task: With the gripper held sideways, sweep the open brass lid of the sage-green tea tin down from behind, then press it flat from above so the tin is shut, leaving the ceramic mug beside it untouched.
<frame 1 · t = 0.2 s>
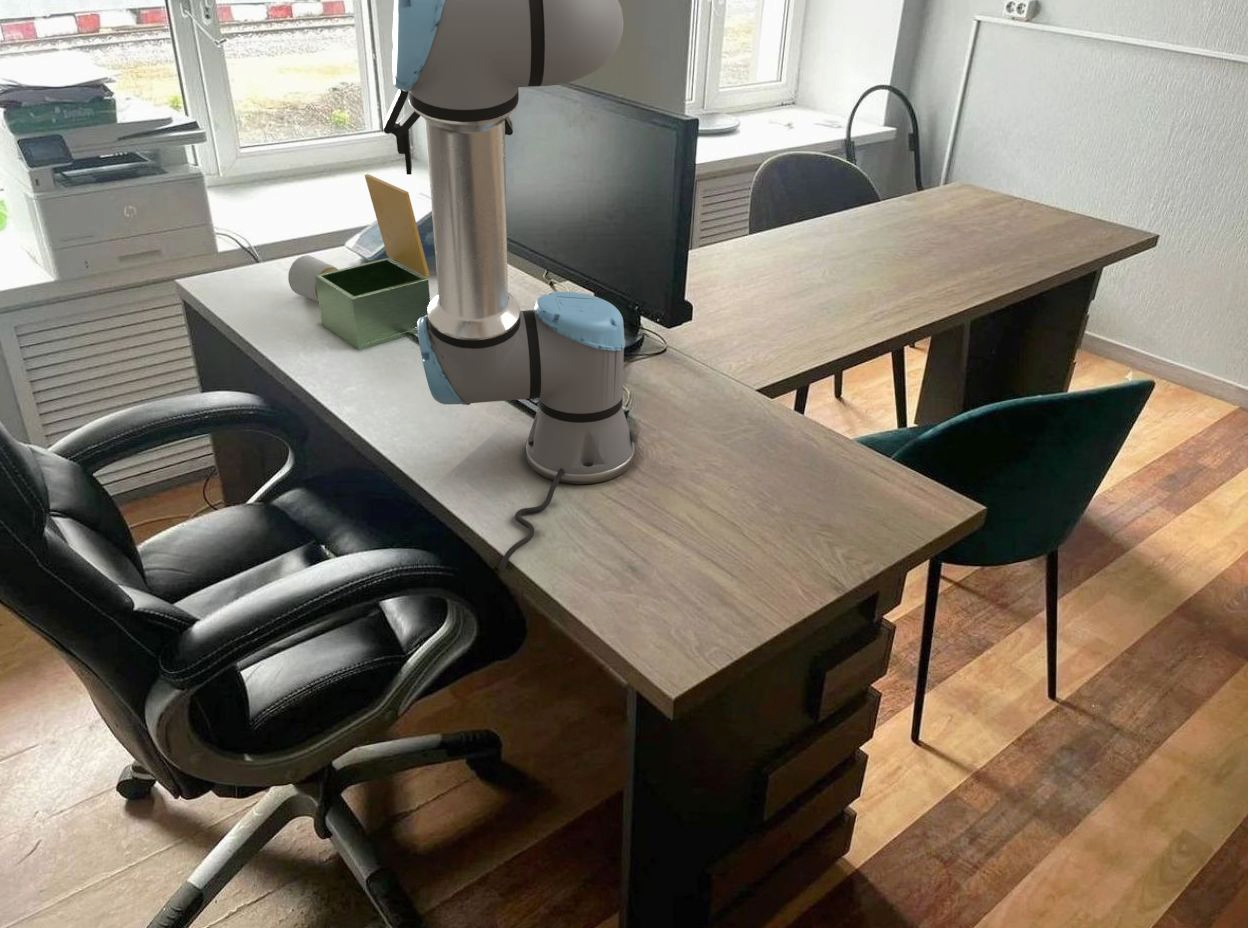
hand: (451, 170, 166), 28 cm above the table, tool tilted 20°, fingers open, 13 cm apart
lid: (397, 225, 173), point 17 cm above the table, hinge at 80.0°
tea tin: (377, 326, 179), on the table
ceramic mug: (325, 297, 190), on the table
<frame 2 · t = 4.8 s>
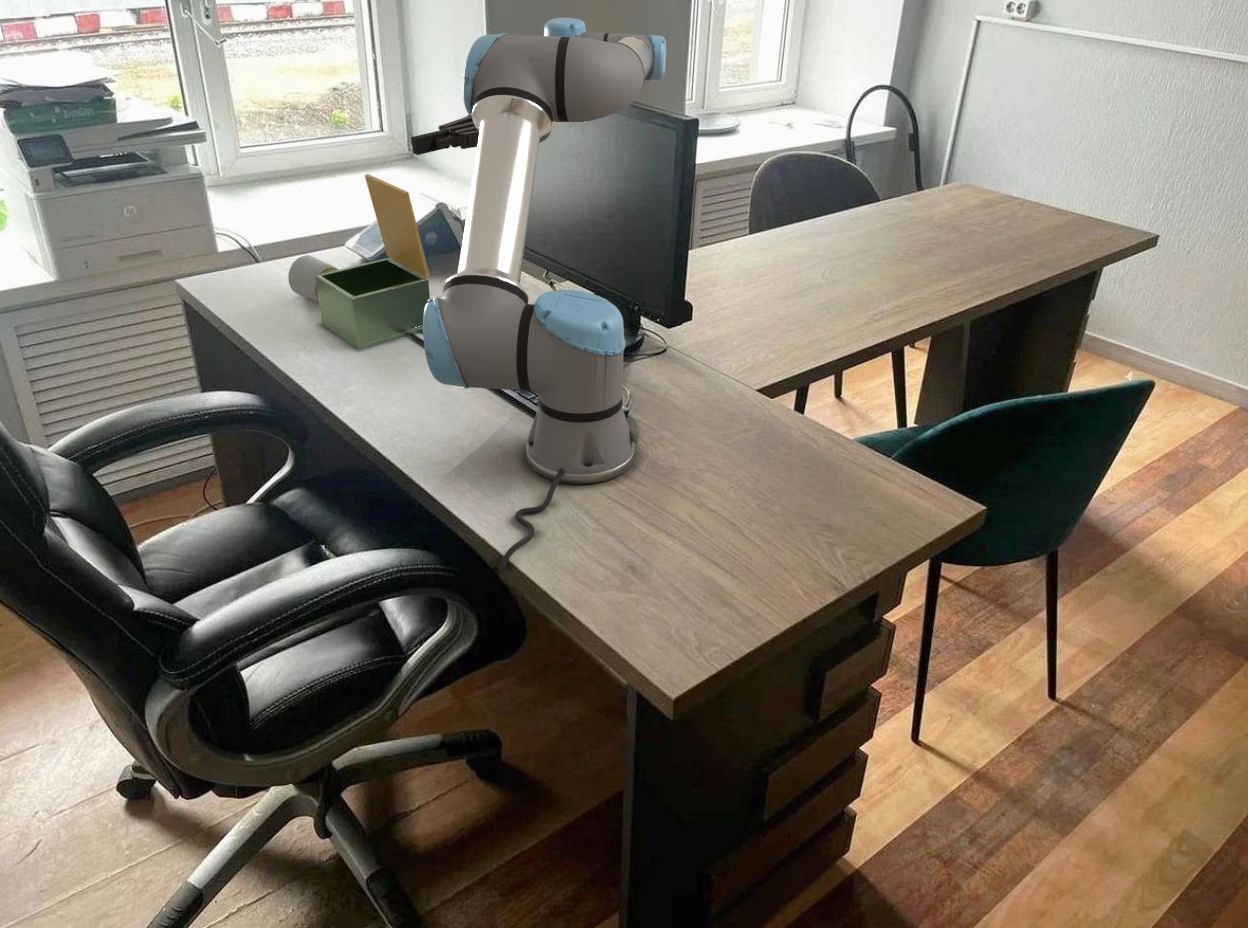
hand: (414, 146, 168), 30 cm above the table, tool horizontal, fingers closed
nothing on the table moved.
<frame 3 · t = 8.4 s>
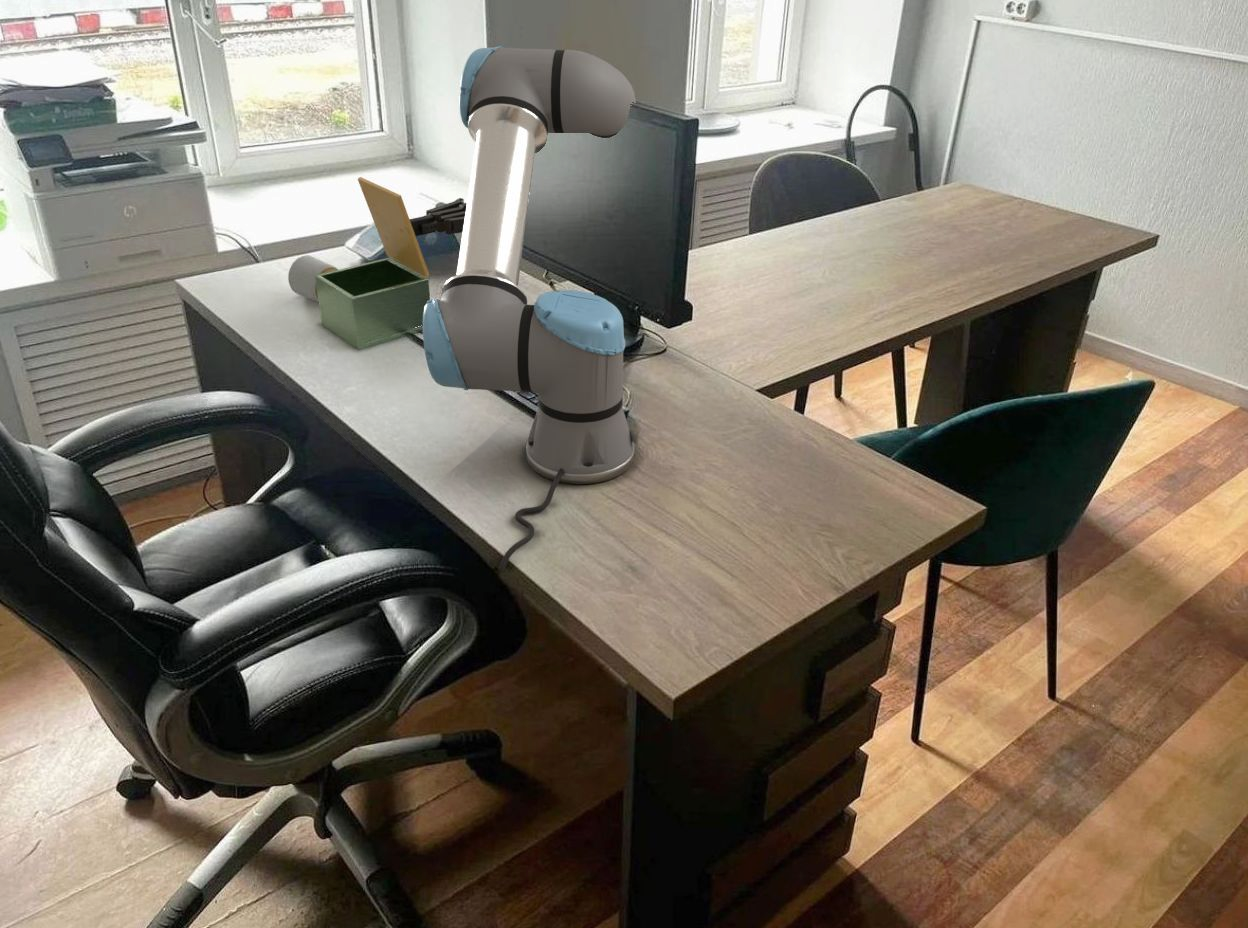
hand: (400, 230, 174), 16 cm above the table, tool horizontal, fingers closed
lid: (393, 227, 173), point 17 cm above the table, hinge at 74.5°
everything else where it was.
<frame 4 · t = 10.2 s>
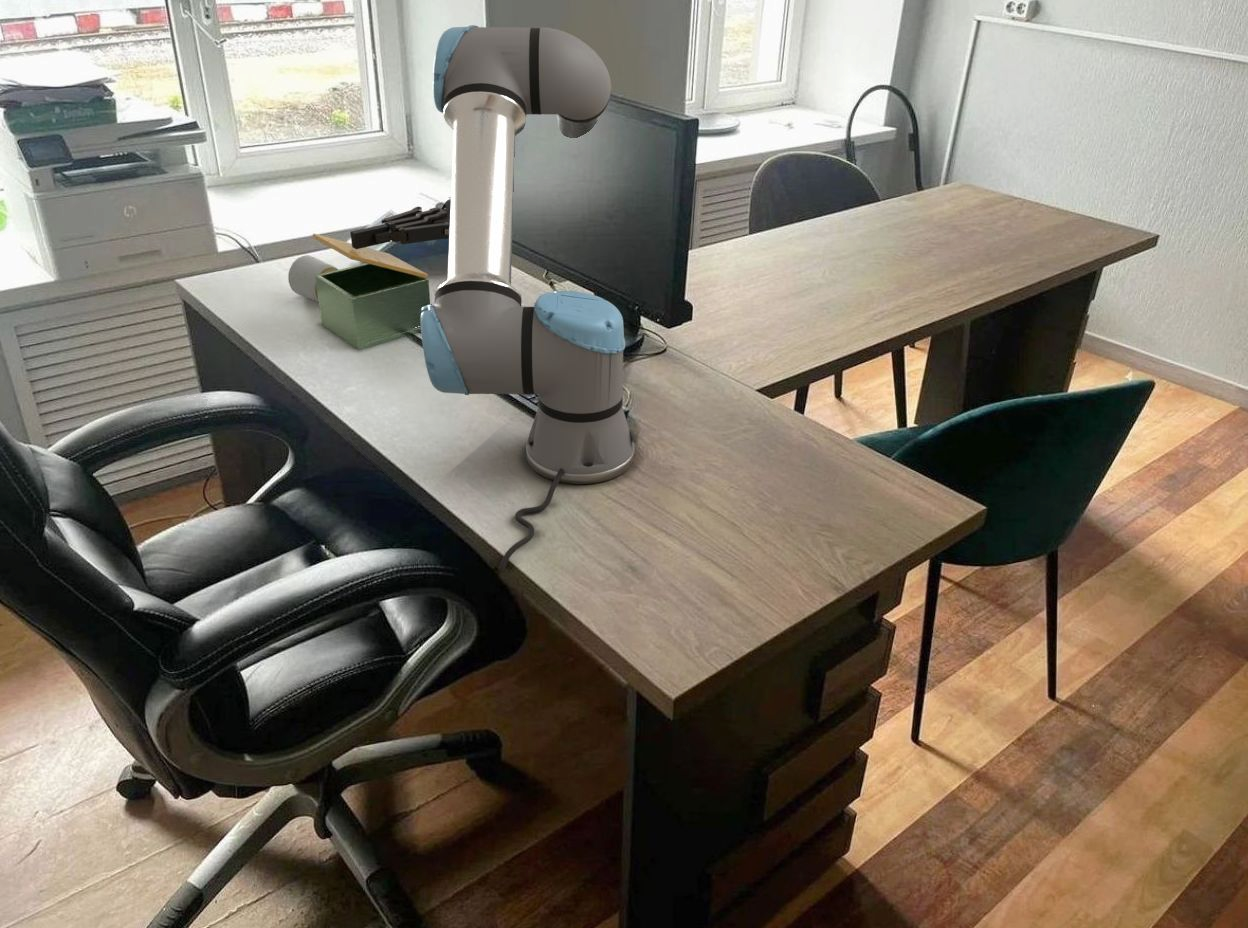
hand: (353, 240, 169), 16 cm above the table, tool horizontal, fingers closed
lid: (370, 256, 172), point 13 cm above the table, hinge at 25.5°
everything else where it was.
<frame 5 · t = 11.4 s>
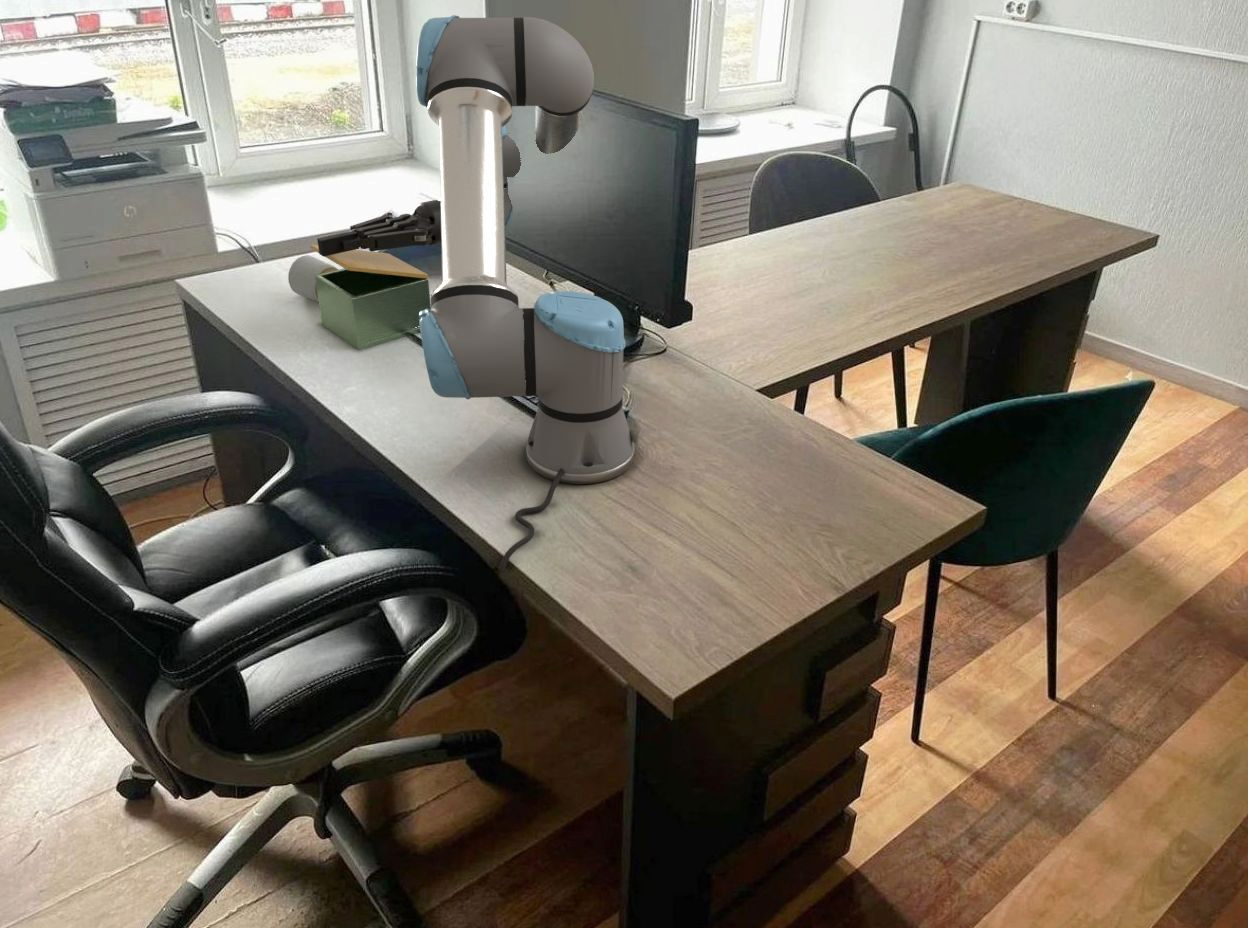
hand: (320, 247, 166), 16 cm above the table, tool horizontal, fingers closed
lid: (369, 261, 173), point 12 cm above the table, hinge at 18.4°
everything else where it was.
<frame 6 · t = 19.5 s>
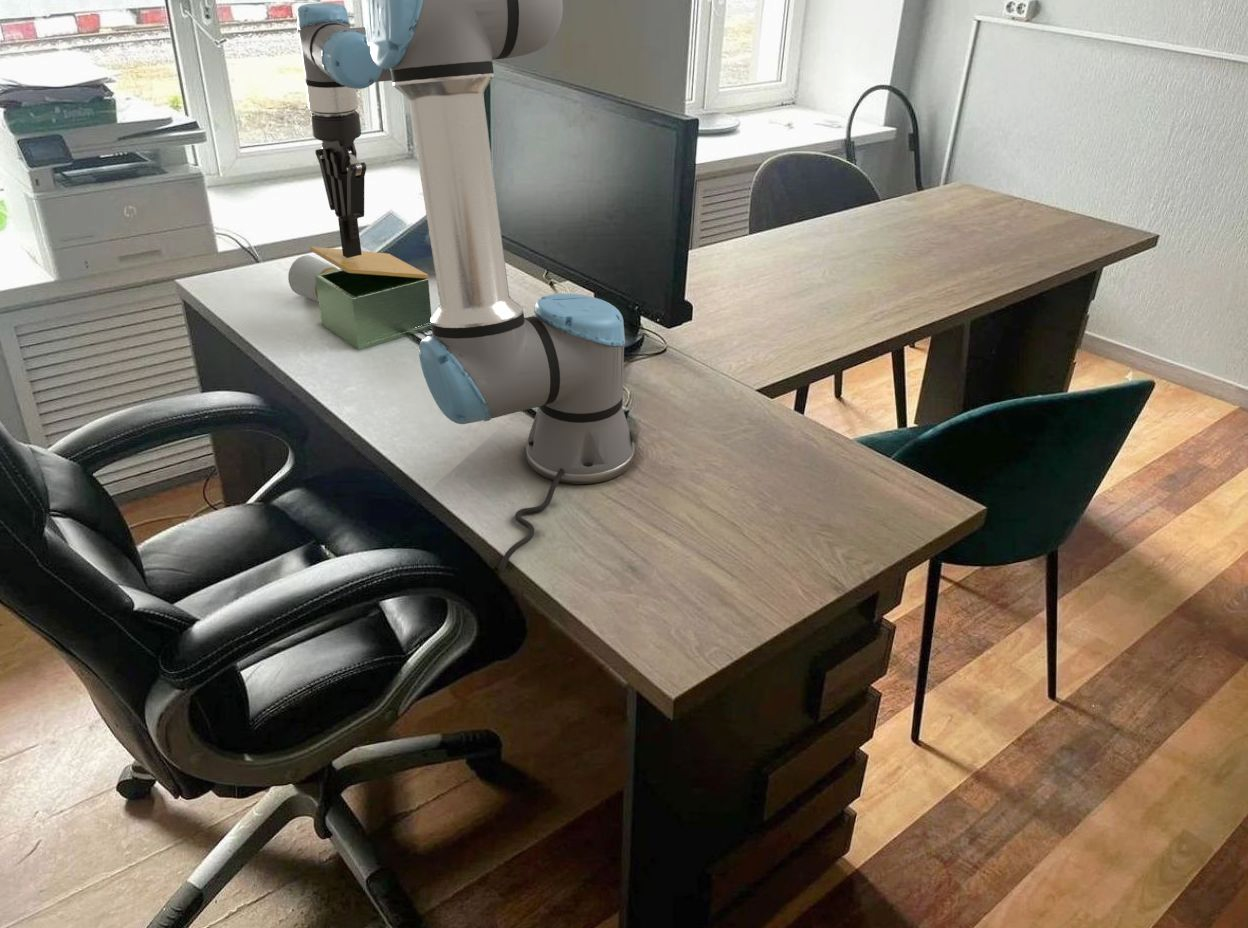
hand: (352, 255, 170), 14 cm above the table, tool pointing down, fingers closed
lid: (369, 262, 173), point 12 cm above the table, hinge at 16.9°, touching gripper
everything else where it was.
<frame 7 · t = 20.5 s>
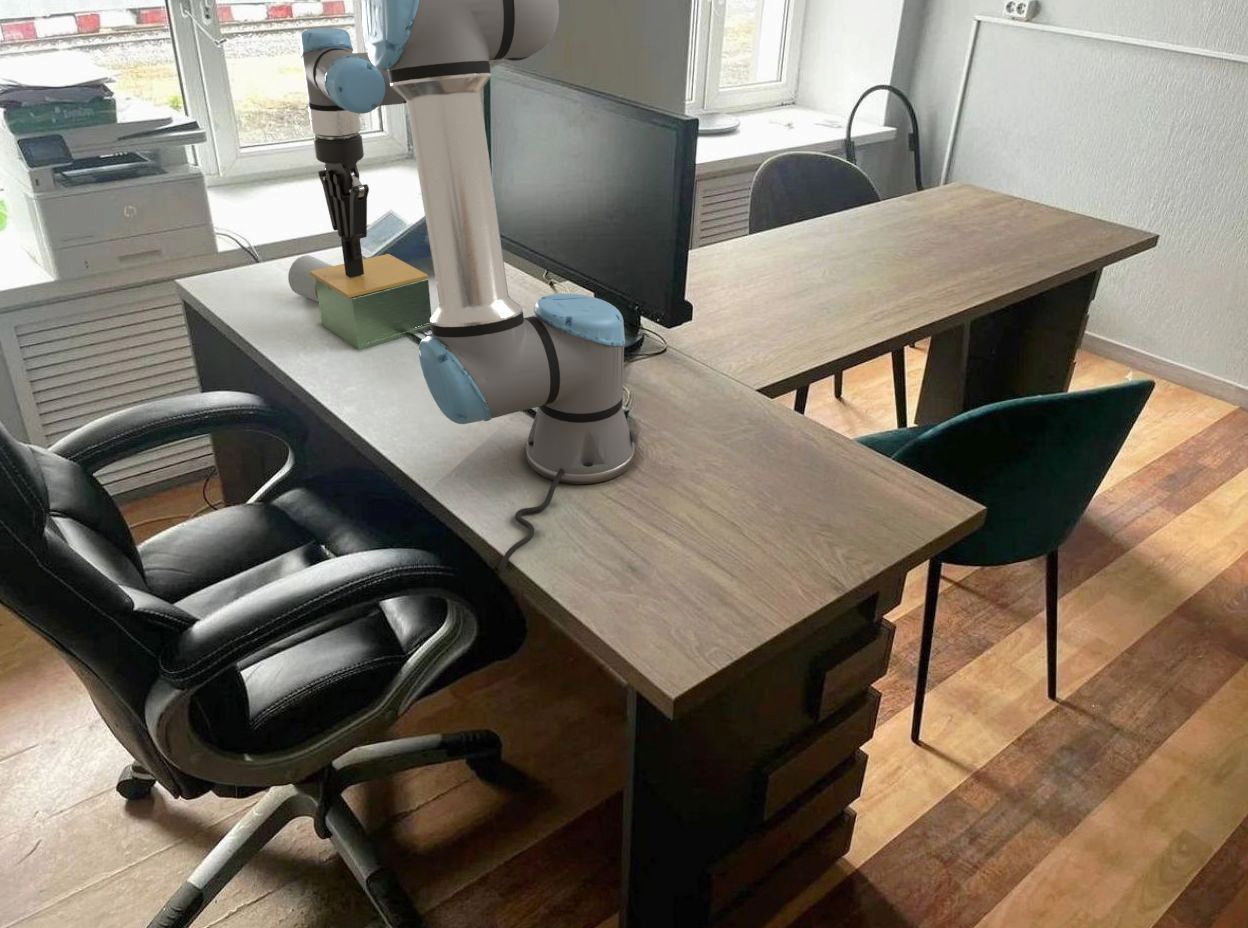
hand: (354, 274, 172), 10 cm above the table, tool pointing down, fingers closed
lid: (369, 274, 174), point 10 cm above the table, hinge at 0.7°, touching gripper
everything else where it was.
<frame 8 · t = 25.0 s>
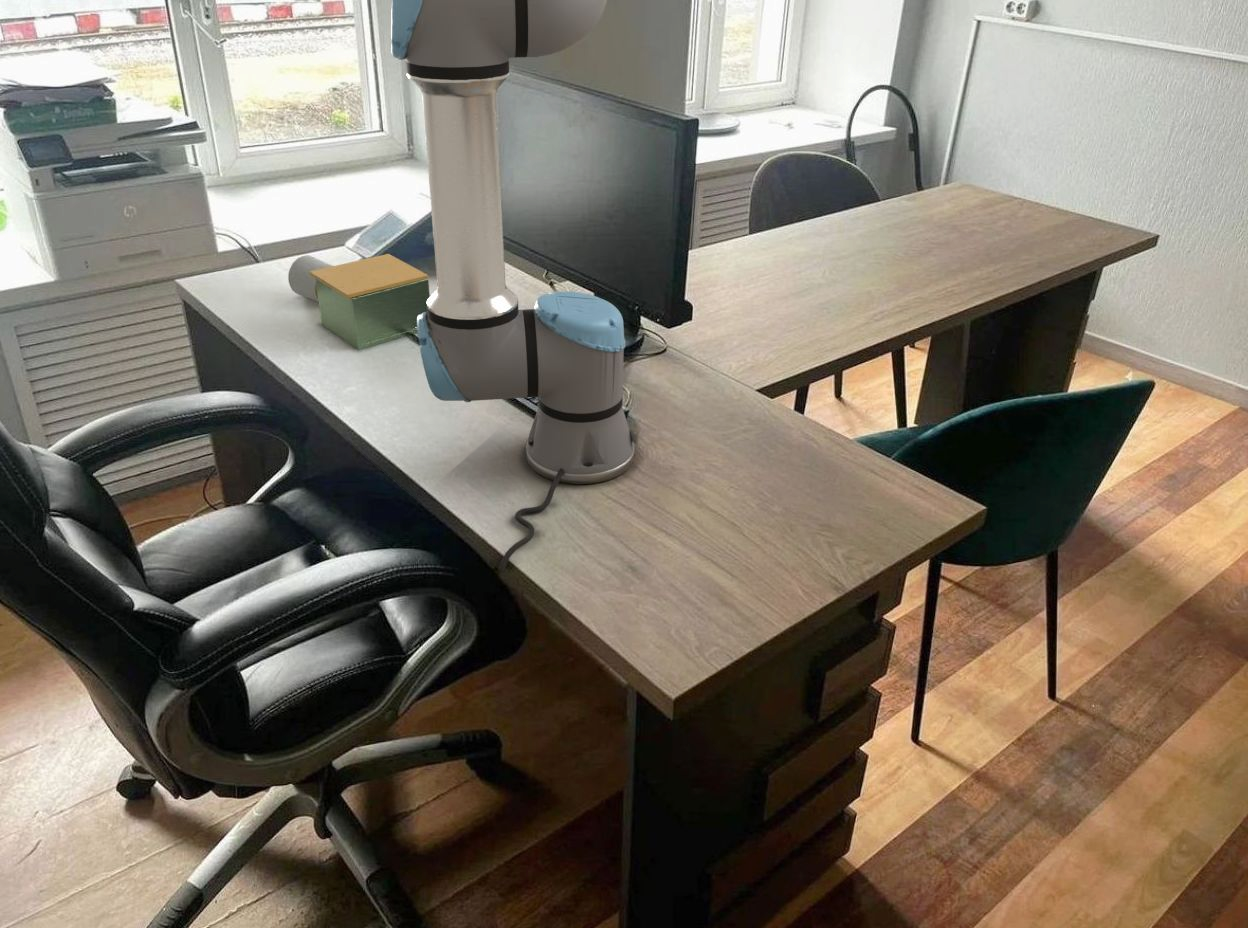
hand: (466, 156, 167), 29 cm above the table, tool pointing down, fingers closed
lid: (369, 275, 174), point 10 cm above the table, hinge at 0.6°
everything else where it was.
at the end: lid at +1° (first picture: +80°); ceramic mug moved 0.2 cm from its start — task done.
